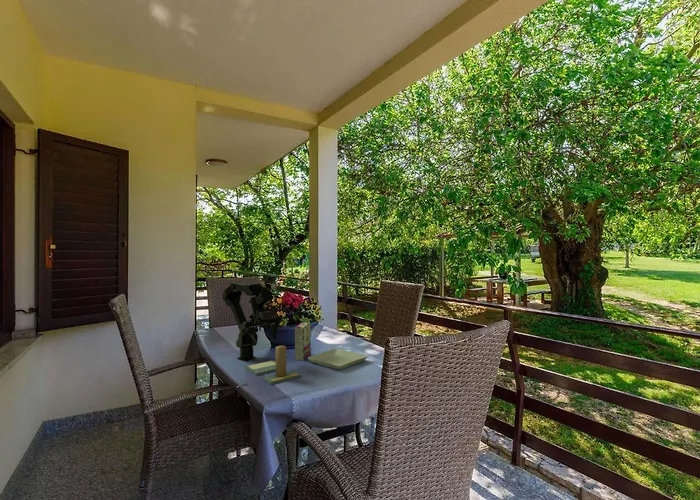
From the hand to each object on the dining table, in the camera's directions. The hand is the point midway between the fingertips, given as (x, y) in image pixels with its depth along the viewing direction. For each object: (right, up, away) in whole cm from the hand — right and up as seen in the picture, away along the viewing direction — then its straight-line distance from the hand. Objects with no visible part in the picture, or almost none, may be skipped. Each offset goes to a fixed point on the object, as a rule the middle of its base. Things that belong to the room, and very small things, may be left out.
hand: (266, 341), depth 174 cm
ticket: (0, -12, -1) cm, 12 cm away
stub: (+9, -12, -13) cm, 20 cm away
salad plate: (+32, -13, +9) cm, 36 cm away
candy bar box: (+15, -12, +17) cm, 25 cm away
